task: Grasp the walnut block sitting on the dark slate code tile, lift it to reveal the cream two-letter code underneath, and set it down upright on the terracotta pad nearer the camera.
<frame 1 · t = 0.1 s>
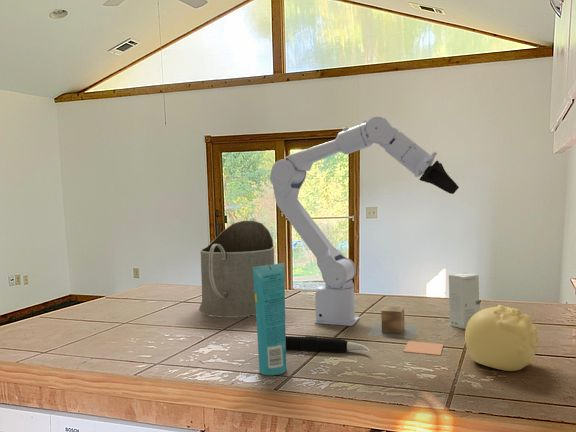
hand: (455, 190, 106), 32 cm above the counter, tool tilted 50°, fingers open, 7 cm apart
sculpture: (501, 366, 84), on the counter
tube: (272, 372, 84), on the counter
walnut block: (393, 330, 107), resting on code tile
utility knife: (316, 353, 94), on the counter
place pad: (423, 349, 94), on the counter
grey fabric basket: (234, 311, 132), on the counter
skincare box: (464, 326, 111), on the counter
code tile: (393, 331, 107), on the counter
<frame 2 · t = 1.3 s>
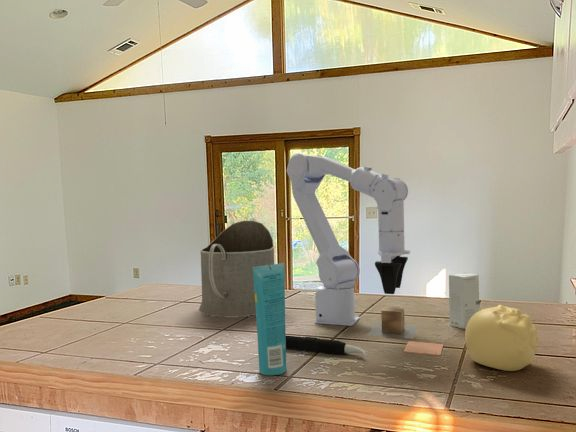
hand: (392, 290, 107), 9 cm above the counter, tool pointing down, fingers open, 7 cm apart
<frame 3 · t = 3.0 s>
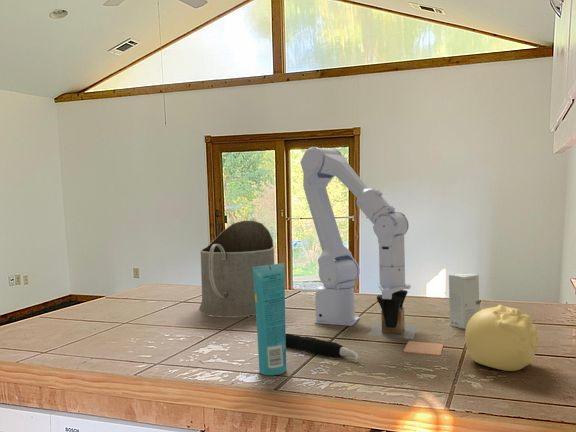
hand: (393, 324, 107), 2 cm above the counter, tool pointing down, fingers closed on walnut block, 4 cm apart
walnut block: (393, 330, 107), resting on code tile, touching gripper
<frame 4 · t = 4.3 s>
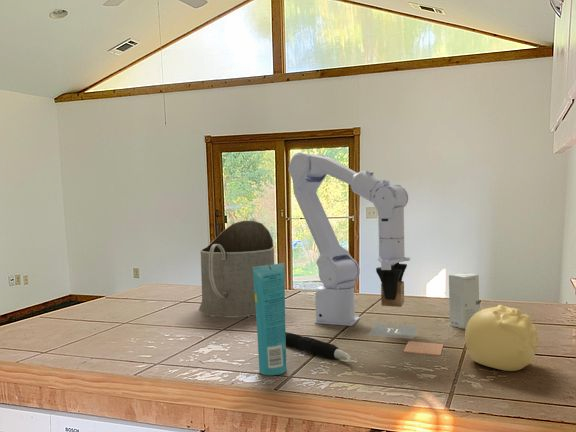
hand: (392, 297, 107), 8 cm above the counter, tool pointing down, fingers closed on walnut block, 4 cm apart
walnut block: (392, 304, 107), point 6 cm above the counter, touching gripper
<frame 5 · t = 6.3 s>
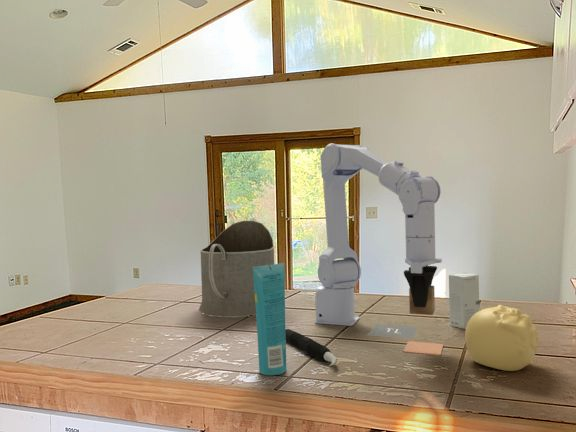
hand: (421, 304, 94), 9 cm above the counter, tool pointing down, fingers closed on walnut block, 4 cm apart
walnut block: (422, 311, 94), point 7 cm above the counter, touching gripper
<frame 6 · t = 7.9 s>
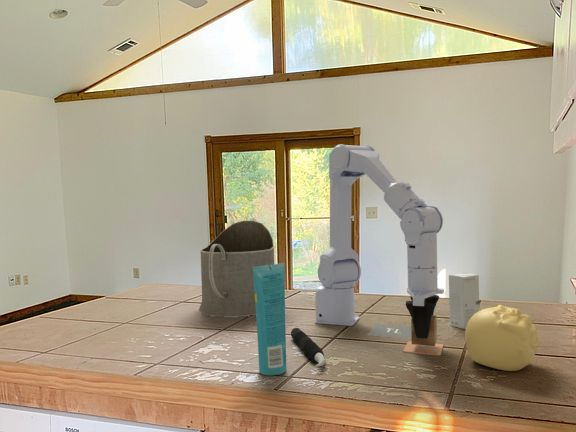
hand: (423, 334, 94), 3 cm above the counter, tool pointing down, fingers closed on walnut block, 4 cm apart
walnut block: (424, 342, 94), point 1 cm above the counter, touching gripper
when the fingers open (3 cm above the counter, at t = 8.4 s): walnut block drops 1 cm, resting on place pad.
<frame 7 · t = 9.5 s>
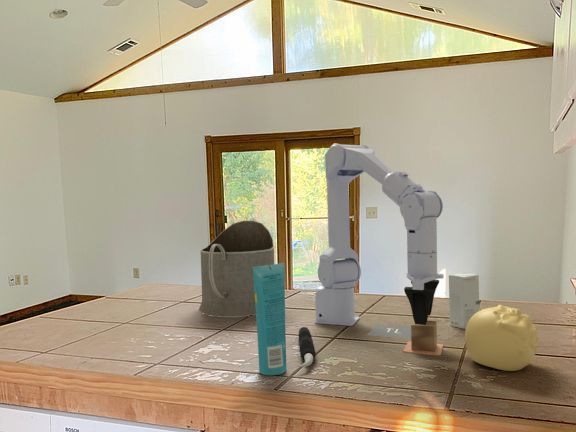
hand: (422, 319, 94), 6 cm above the counter, tool pointing down, fingers open, 7 cm apart
walnut block: (424, 347, 94), resting on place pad
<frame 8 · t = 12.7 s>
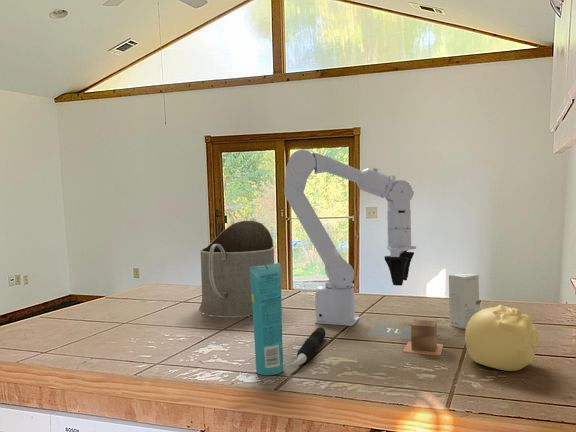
hand: (400, 282, 117), 9 cm above the counter, tool pointing down, fingers open, 7 cm apart
at the end: walnut block 0.1 cm off-centre on the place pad, point 0.3 cm above the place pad's base; walnut block tilted 0°; the gripper is holding nothing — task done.
